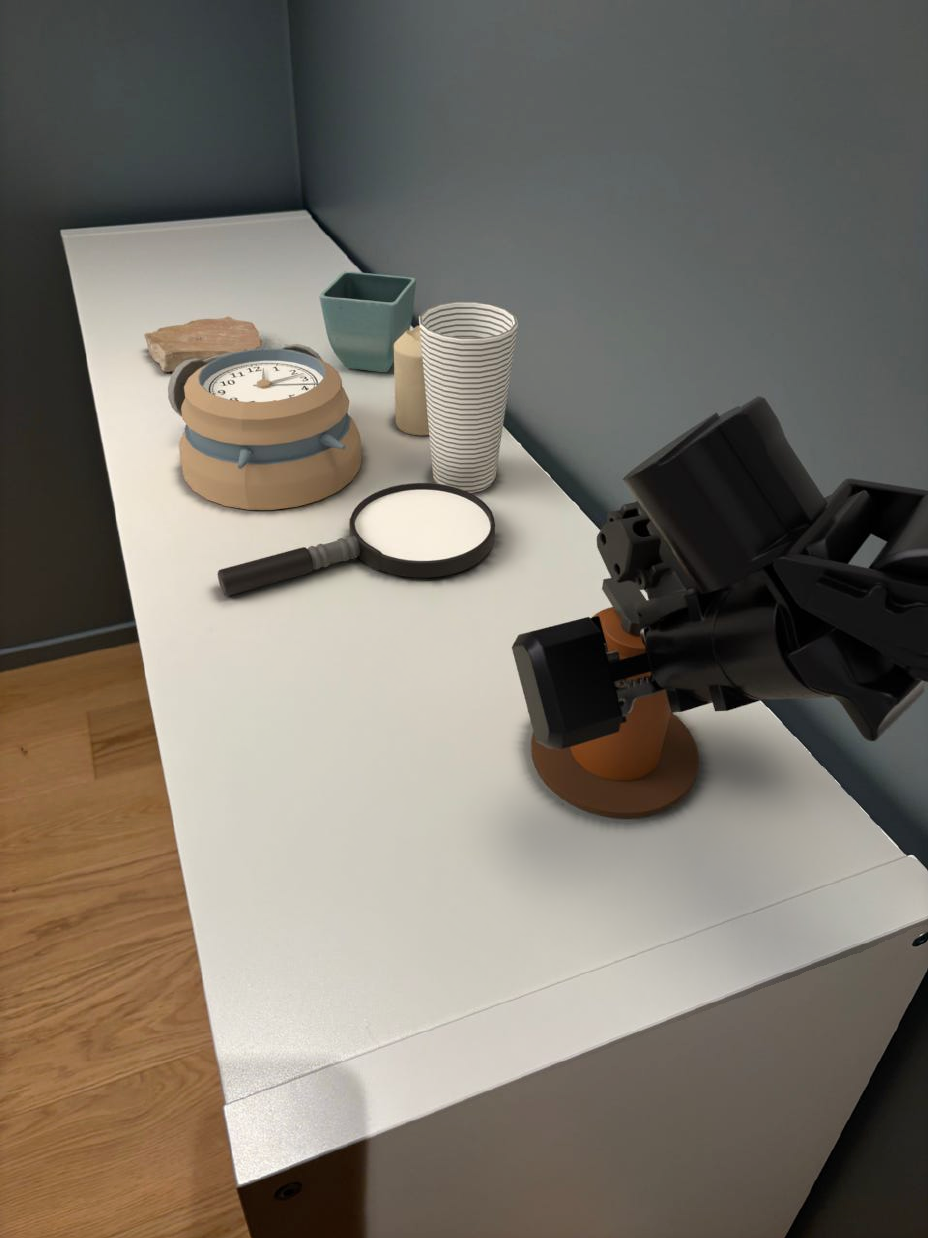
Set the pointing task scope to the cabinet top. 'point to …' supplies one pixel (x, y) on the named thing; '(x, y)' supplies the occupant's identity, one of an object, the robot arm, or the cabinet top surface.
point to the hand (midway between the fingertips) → (614, 660)
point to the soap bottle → (648, 720)
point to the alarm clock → (264, 428)
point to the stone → (201, 340)
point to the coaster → (623, 796)
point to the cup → (466, 388)
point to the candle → (410, 384)
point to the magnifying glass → (389, 538)
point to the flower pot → (367, 317)
